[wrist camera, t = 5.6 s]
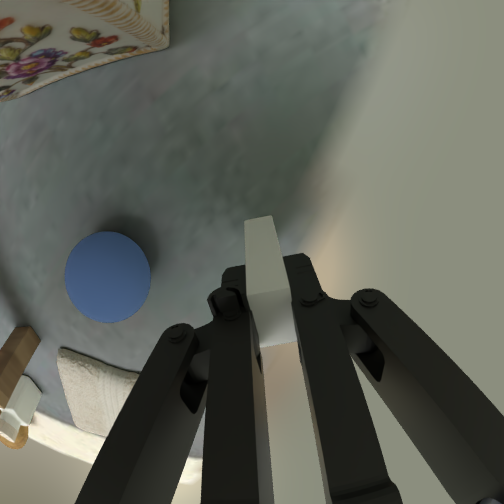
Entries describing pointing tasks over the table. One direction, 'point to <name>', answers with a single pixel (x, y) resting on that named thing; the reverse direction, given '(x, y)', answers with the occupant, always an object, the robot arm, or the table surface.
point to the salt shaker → (19, 408)
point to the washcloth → (93, 390)
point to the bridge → (15, 360)
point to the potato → (17, 438)
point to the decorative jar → (73, 38)
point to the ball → (107, 277)
